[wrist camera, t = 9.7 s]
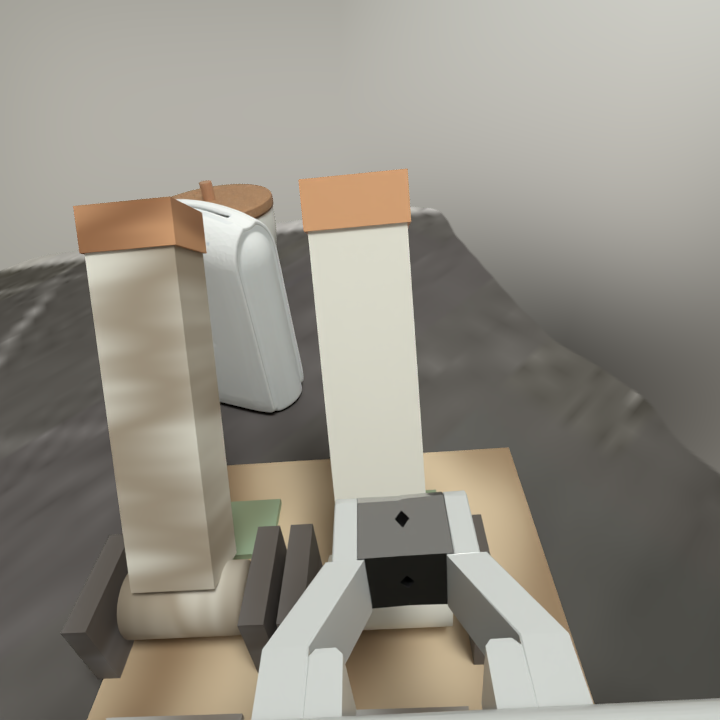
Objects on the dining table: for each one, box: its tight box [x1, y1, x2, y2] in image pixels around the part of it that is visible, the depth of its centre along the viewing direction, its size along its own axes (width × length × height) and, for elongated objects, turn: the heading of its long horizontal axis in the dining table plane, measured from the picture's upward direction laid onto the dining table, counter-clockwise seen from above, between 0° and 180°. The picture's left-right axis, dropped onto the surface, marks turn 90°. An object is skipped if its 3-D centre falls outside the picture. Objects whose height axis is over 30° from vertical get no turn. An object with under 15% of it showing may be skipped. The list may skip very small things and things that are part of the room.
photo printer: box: [176, 199, 304, 412], centre depth 30 cm, size 10×4×12 cm, turn 63°
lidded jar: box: [172, 180, 277, 244], centre depth 45 cm, size 11×11×9 cm
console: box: [60, 197, 594, 720], centre depth 16 cm, size 16×14×16 cm
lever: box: [299, 169, 453, 630], centre depth 16 cm, size 4×3×15 cm, turn 90°
